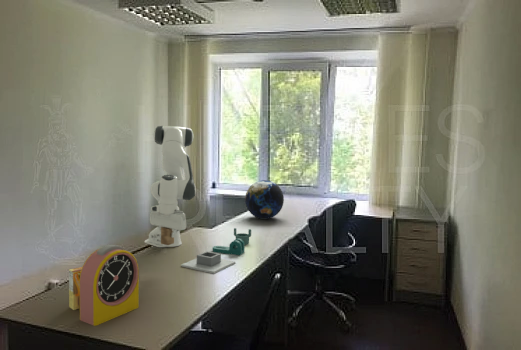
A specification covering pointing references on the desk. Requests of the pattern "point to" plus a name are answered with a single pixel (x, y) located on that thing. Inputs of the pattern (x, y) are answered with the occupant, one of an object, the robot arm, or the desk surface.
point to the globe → (264, 199)
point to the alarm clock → (108, 285)
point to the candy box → (74, 288)
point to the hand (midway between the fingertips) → (167, 236)
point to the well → (208, 262)
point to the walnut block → (166, 236)
